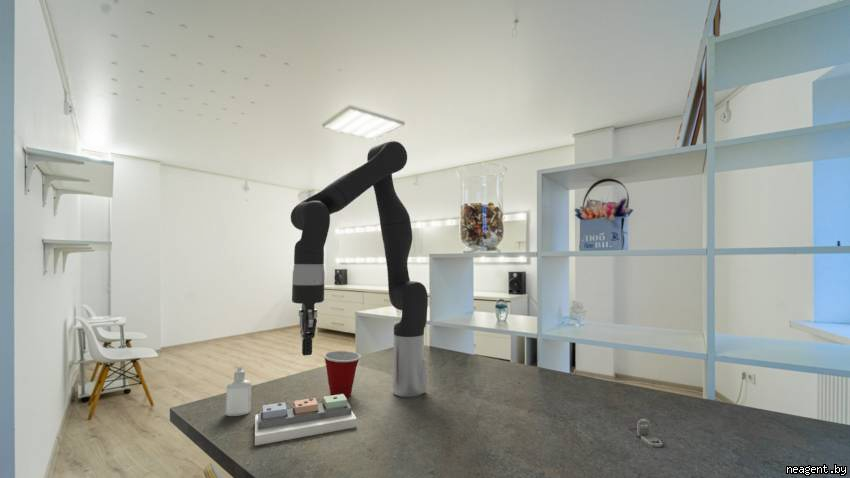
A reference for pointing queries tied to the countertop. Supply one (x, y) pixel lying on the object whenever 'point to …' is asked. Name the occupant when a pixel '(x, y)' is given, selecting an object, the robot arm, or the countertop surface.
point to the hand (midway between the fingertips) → (306, 354)
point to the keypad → (303, 423)
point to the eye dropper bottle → (238, 395)
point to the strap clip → (645, 434)
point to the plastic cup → (341, 371)
